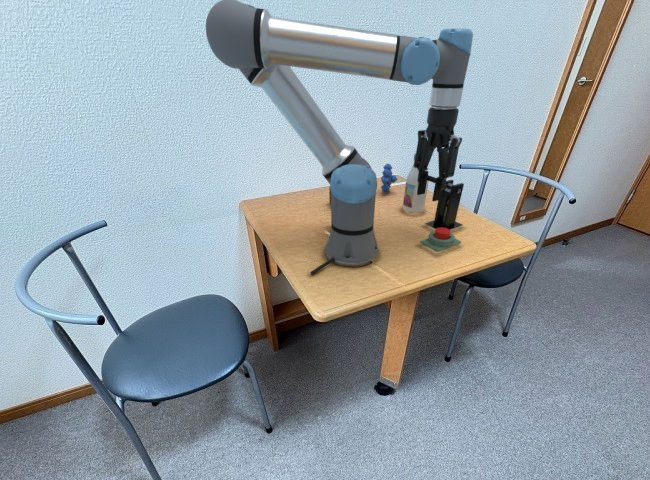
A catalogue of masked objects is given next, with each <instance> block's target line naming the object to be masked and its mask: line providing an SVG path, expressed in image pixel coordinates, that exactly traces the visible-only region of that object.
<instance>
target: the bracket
mask: <svg viewBox="0 0 650 480" xmlns="http://www.w3.org/2000/svg"><path fill="white" fill-rule="evenodd" d="M448 183H450V184H453V185H452V187H451V192H450V193H449V192H447V191H445V189H446V188H444V190H442V195H441V200H437V205H436V208H435V209H436V210H435V214H434V219H433V220H431V221H428V222H425V223H424V225H427V226H428V227H431V228H433V229H436V228H440V227H442V228H447V229H449V230H450V231H452V230H453V229H457V228H459V227H462V226H463V223H460V222H457V221H456V219H457V216H458V212H459V207H460V202H461V199H462V195H463V194H462V193H463V190H464V185H465V183H463V182H460V183H456V184H454V179H448V180H446V184H447V185H448ZM448 200H449V201H448ZM447 202H448V204H447ZM446 207H447V211H446V215H445V220H444V222H443V219H444V214H445V209H446Z"/></svg>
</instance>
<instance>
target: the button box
mask: <svg viewBox="0 0 650 480" xmlns="http://www.w3.org/2000/svg"><path fill="white" fill-rule="evenodd" d="M434 234H435V230H433V231H430V232H429V233H428V236H427V238H425V239H422V240H420V241H419V243H420V244H421V245H424V246H425V247H427V248H429V249H431V250H433V251H434V252H436V253H440V252H442V251H444V250H447V249H449V248H452V247H455V246H457V245H459V244H461V243H462V241H461V240H459V239H457V238H456V236H455V235H454V234H453V233H452V232H451V233H450V237H449V239H447V240H441V239H437V238H435V237H434Z"/></svg>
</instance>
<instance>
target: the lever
mask: <svg viewBox="0 0 650 480" xmlns="http://www.w3.org/2000/svg"><path fill="white" fill-rule="evenodd" d="M436 178H437V177H436V176H432V175H429V174H428V175H426V174H425V175H424V176H423V179H425V180H427V181H429V182H431V183H433V184H435V182H436ZM452 185H454V183H453V184H450V183H448V185H447V184H445V188H446V189H445V191H447V192H449V193H450V192H451V187H452Z"/></svg>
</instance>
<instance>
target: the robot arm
mask: <svg viewBox="0 0 650 480" xmlns="http://www.w3.org/2000/svg"><path fill="white" fill-rule="evenodd" d="M205 20H206V21H205V35H206V39H207V43H208V45H209V48H210V50H211V51H212V53H213V55H214V56H215V58H217V59H218V60H219V61H220V62H221V63H222V64H223V65H225V66H227V67H229V68H232V69H235V70H236V69H237V70H238V71H240V72H241V74H242V75H243V76H244V78H245V79H246V80H247V81H248V83H249V84H250V85H251V86H252V87H256V88H261V89H262V90H263V91H264V93H265V94H266V95H267V97H268V98H269V99H270V101H271V102H272V103H273V104H274V106H275V107H276V108H277V109H278V111H279V112H280V113H281V114H282V116H283V118H285V120H286V121H287V122H288V124H289V125H290V127H292V129H293V130H294V132H295V133H296V134H297V135H298V137H299V138H300V139H301V140H302V142H303V143H304V144H305V145H306V147H307V148H308V150H309V151H310V152H311V153H312V154H313V156H314V157H315V158H316V160H317V161H318V162H319V164H320V165H321V168H322V169H321V175H322V176H323V178H324V179H325V180H326V181H327V182H328V184H329V186H330V189H331V205H330V217H331V218H330V220H331V221H330V222H331V223H330V224H331V226H330V228H331V229H330V232H329V235H328V238H327V242H326V244H325V251H324V253H325V258H326V259H327V261H324V262H323V263H322V264H320V265H319V266H317V267H316V268H315V269H313V270H310V275H311V276H313V275H315V274H316V273H318V272H320V271H321V270H322V269H324V268H326V267H327V266H328V265H331V264H332V263H333V264H334V265H337V266H341V267H345V268H346V267H347V268H358V267H363V266H364V267H365V266H368V265H370V264H372V263H373V261H372V260H374V259H375V258H377V256H378V253H379V247H378V243H377V239H376V236H375V235H376V234H375V231H374V223H375V211H376V197H377V189H378V179H377V174H376V172H375V171H374V169H373V168H372V166H371V164H370V163H369V162H368V161H367V160H366V159H365V158H363V157H362V156H361V155H360V153H359V151H358V150H357V149H356V146H354V145H349V144H346V143H345V141H344V140H343V139H342V137H341V136H340V135H339V133H338V131H337V130H336V129H335V127H334V126H333V125H332V123H331V122H330V121H329V119H328V118H327V117H326V115H325V113H324V112H323V111H322V109H321V108H320V107H319V105H318V104H317V103H316V101H315V100H314V98H313V96H312V95H311V94H310V93H309V91H308V90H307V88H306V87H305V85H304V84H303V83H302V81H301V80H300V78H299V77H298V76H297V75H296V73H295V71H294V70H293V67H294V68H301V69H308V70H314V71H323V72H329V73H335V74H337V73H338V74H344V75H351V76H358V77H359V76H360V77H366V78H374V79H382V80H389V81H394V82H401V83H407V84H410V85H412V86H421V85H423V84H427V82H429V81H430V80H432V85H431V90H430V96H429V102H428V105H429V106H430V107H429V108H428V109H427V117H426V124H427V127H426V129H421V130H420V129H419V130H418V131H417V139H418V140H417V145H416V151H415V153H416V156H415V162H414V161H413V164H414V167H415V168H417V169H418V171H419V173H418V182H419V183H418V190H417V195H421V194H425V190H426V184H427V180H425V179H423V176H424V175H425V174H426V175H429V171H428V170H429V168H428V167H429V165H430V162H431V159H432V157H433V155H434V152H435V149H436V152H437V154H438V155H437V157H438V176H437V177H435V178H436V182H435V183H434V189H433V194H432V197H431V198H432V199H431V201H432V202H438V200H441V195H442V190H444V188H445V184H446V181H447V179H448V178H452V177H454V176H455V171H456V166H457V160H458V156H459V149H460V146H461V144H462V142H463V138H462V136H461V137H458V136H457V135H455V126H456V125H457V122H458V117H459V111H460V110H459V108H458V107H459V106H461V101H462V95H463V90H464V85H465V80H466V75H467V72H468V71H467V70H468V66H469V62H470V57H471V54H472V53H471V52H472V45H473V39H474V33H473V31H472V29H470V28H463V27H462V28H461V27H459V28H458V27H457V28H443V29H442V30H441V31H440V32H439V36H438V38H437V39H431V38H428V37H424V36H419V37H413V36H406V35H398V34H393V33H387V32H379V31H373V30H365V29H359V28H351V27H344V26H338V25H330V24H324V23H316V22H310V21H302V20H296V19H288V18H281V17H275V16H272V15H271V13H270V12H269V10H268V9H266V8H261V7H255V6H254V5H251V4H247V3H244V2H241V1H239V0H219V1H217V2H216V3H215V4H213V6H212V7H211V8H210V9H209V12H208V13H207V16H206V19H205ZM291 67H292V68H291ZM425 170H427V171H425Z"/></svg>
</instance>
